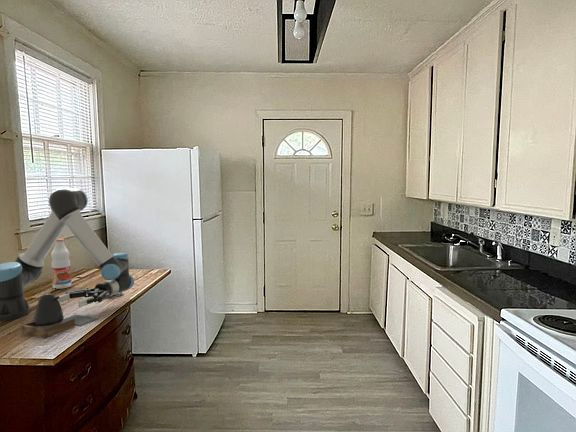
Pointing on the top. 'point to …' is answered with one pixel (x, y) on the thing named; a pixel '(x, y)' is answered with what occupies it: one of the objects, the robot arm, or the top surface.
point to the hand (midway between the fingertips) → (67, 302)
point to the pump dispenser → (48, 312)
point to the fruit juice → (60, 265)
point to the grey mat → (80, 319)
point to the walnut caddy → (46, 333)
